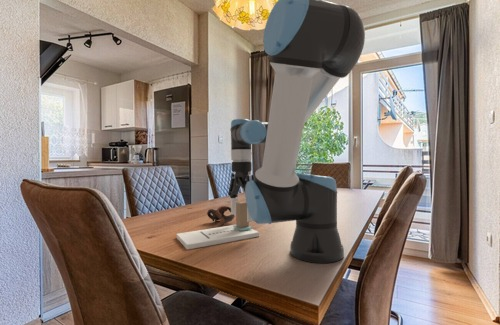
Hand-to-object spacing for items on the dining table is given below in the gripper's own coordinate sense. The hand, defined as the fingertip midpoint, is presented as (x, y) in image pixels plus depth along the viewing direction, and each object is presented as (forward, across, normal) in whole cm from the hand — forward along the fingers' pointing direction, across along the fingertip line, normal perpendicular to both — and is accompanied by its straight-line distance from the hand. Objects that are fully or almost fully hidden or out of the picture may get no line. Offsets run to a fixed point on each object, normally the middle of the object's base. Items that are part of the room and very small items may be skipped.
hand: (242, 217), depth 100 cm
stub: (+4, 0, 0) cm, 4 cm away
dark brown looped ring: (+6, +19, +1) cm, 20 cm away
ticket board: (+6, 0, +10) cm, 12 cm away
